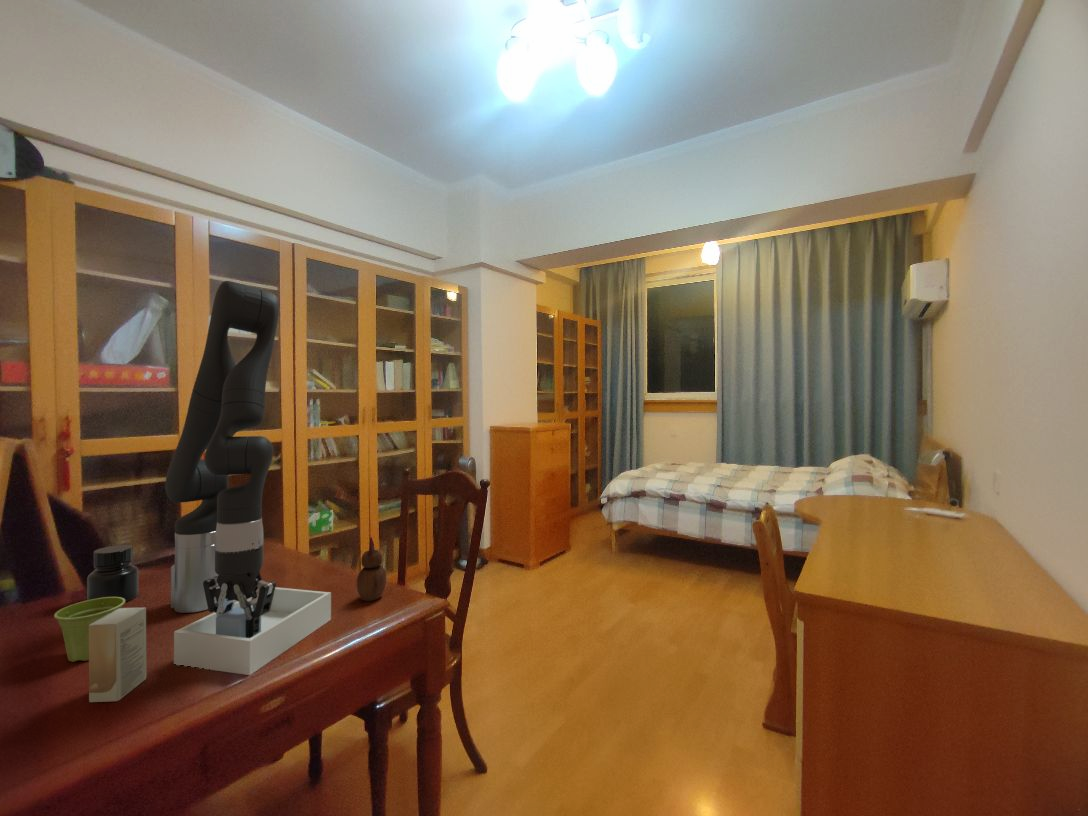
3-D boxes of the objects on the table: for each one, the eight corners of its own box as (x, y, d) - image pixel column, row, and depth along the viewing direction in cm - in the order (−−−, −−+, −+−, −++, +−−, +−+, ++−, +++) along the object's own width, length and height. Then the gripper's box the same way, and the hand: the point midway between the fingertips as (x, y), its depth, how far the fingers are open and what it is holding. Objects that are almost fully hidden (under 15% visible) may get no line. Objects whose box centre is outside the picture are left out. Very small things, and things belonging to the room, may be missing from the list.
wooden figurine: (374, 605, 109) (375, 540, 109) (352, 602, 110) (352, 538, 110) (390, 593, 116) (390, 532, 116) (368, 591, 117) (369, 531, 117)
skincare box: (119, 680, 79) (120, 606, 79) (147, 679, 79) (148, 605, 79) (85, 704, 72) (86, 624, 72) (116, 703, 73) (117, 623, 73)
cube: (215, 644, 86) (215, 617, 86) (238, 632, 91) (238, 605, 91) (239, 647, 85) (239, 619, 85) (261, 634, 90) (261, 608, 90)
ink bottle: (128, 589, 117) (129, 541, 117) (148, 596, 113) (148, 546, 113) (76, 604, 108) (77, 551, 108) (95, 611, 105) (96, 557, 105)
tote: (173, 664, 84) (174, 631, 84) (267, 612, 105) (268, 586, 105) (249, 675, 81) (250, 641, 81) (330, 619, 102) (331, 592, 102)
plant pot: (63, 673, 81) (63, 622, 80) (47, 657, 86) (47, 609, 86) (132, 650, 88) (133, 603, 88) (114, 636, 93) (114, 592, 93)
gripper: (188, 547, 85) (187, 642, 85) (256, 553, 83) (256, 650, 83) (224, 536, 93) (223, 623, 93) (288, 541, 90) (287, 630, 90)
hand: (239, 635), depth 88 cm, fingers closed on cube, 4 cm apart
